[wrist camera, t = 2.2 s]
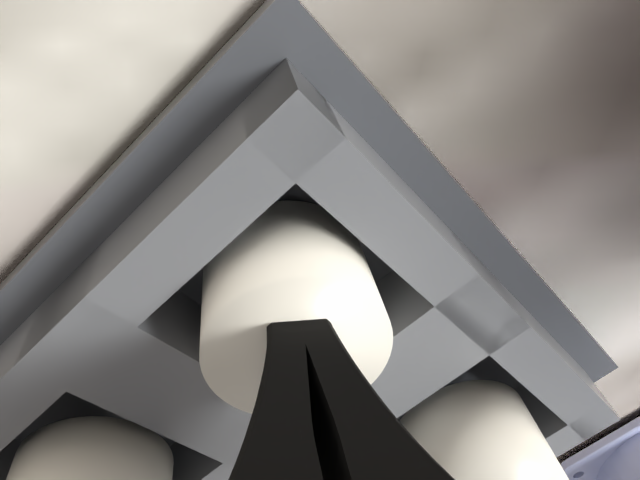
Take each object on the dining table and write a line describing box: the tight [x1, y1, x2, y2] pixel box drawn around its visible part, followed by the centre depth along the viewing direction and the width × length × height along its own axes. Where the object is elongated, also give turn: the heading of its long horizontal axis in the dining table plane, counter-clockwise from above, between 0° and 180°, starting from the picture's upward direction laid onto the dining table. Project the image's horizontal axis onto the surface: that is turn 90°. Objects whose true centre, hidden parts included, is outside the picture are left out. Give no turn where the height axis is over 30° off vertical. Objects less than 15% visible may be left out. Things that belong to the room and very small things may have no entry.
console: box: [0, 0, 621, 480], centre depth 17 cm, size 18×18×3 cm
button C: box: [199, 200, 393, 414], centre depth 13 cm, size 4×4×3 cm
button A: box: [400, 380, 569, 480], centre depth 16 cm, size 4×4×3 cm
